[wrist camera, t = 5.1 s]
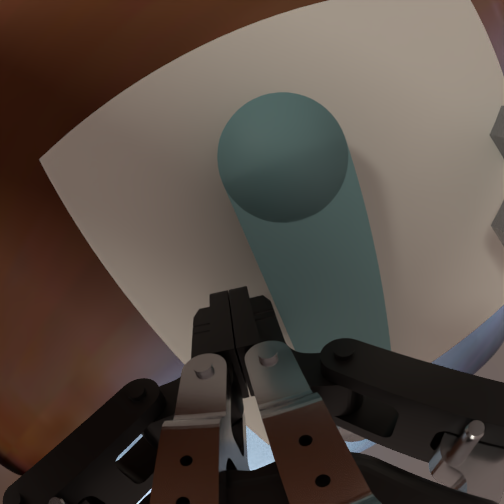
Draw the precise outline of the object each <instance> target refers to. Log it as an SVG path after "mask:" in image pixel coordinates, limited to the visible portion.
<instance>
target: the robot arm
mask: <svg viewBox="0 0 504 504" xmlns="http://www.w3.org/2000/svg"><path fill="white" fill-rule="evenodd" d="M209 303H210V307H206V308H201V309H199V310H198V311H197V313H196V314H195V316H194V317H193V331H192V334H193V335H192V348H191V359H190V360H189V361H188V362H187V363H186V364H185V365H184V367H183V369H182V373H181V377H180V378H178V379H176V380H174V381H172V382H170V383H167V384H165V385H162V386H158V385H157V383H156V382H155V381H153V380H151V379H145V378H143V379H137V380H134V381H131V382H130V383H128V384H127V385H125V386H124V387H123V388H122V389H121V390H120V391H118V392H117V393H116V394H115V395H114V396H113V397H112V398H111V399H109V400H108V401H107V402H106V403H105V404H104V405H103V406H102V407H100V408H99V409H98V410H97V411H96V412H95V413H94V414H93V415H91V416H90V417H89V418H88V419H87V420H86V421H85V422H83V423H82V424H81V425H80V426H79V427H78V428H77V429H76V430H74V431H73V432H72V433H71V434H70V435H69V436H68V437H66V438H65V439H64V440H63V441H62V442H61V443H59V444H58V445H57V446H56V447H55V448H54V449H53V450H51V451H50V452H49V453H48V454H47V455H46V456H45V457H43V458H42V459H41V460H40V461H39V462H38V463H36V464H35V465H34V466H33V467H32V468H31V469H29V470H28V471H27V472H26V473H25V474H24V475H22V476H21V477H20V478H19V479H18V480H17V481H15V482H14V483H13V484H12V485H11V486H9V487H8V489H7V490H6V492H5V493H4V496H3V504H136V503H137V502H138V501H139V500H140V499H141V498H142V497H143V496H144V495H145V494H146V493H147V492H148V491H149V490H150V489H151V488H152V490H151V493H150V494H148V495H147V496H146V497H145V498H144V499H143V500H142V501H141V502H140V503H139V504H499V503H500V500H501V498H502V495H503V492H504V383H502V382H498V381H494V380H490V379H486V378H483V377H479V376H475V375H471V374H468V373H464V372H460V371H457V370H453V369H450V368H446V367H443V366H439V365H436V364H432V363H429V362H425V361H422V360H419V359H415V358H412V357H409V356H406V355H402V354H399V353H396V352H393V351H390V350H386V349H383V348H380V347H377V346H374V345H371V344H368V343H365V342H362V341H359V340H356V339H352V338H340V339H336V340H333V341H331V342H329V343H327V344H326V345H325V346H324V347H323V348H322V350H321V353H301V352H297V351H295V350H293V349H291V348H290V347H289V346H288V345H287V344H286V342H285V340H284V337H283V334H282V331H281V328H280V326H279V323H278V320H277V317H276V314H275V312H274V309H273V306H272V303H271V301H270V300H269V299H268V298H266V297H265V296H264V295H261V296H256V297H252V298H250V297H249V293H248V289H247V286H244V287H239V288H235V289H230V290H229V292H228V290H226V291H221V292H216V293H212V294H210V295H209ZM248 389H249V391H248ZM249 392H250V395H251V397H252V396H255V398H256V401H257V405H258V408H259V411H260V414H261V418H262V421H263V424H264V427H265V431H266V434H267V437H268V440H269V443H270V446H271V450H272V453H273V456H274V459H275V462H273V463H271V464H268V465H266V466H264V467H261V468H259V469H256V470H252V471H250V469H249V466H248V459H247V441H246V422H245V414H244V405H243V398H248V397H249ZM336 425H337V426H339V427H341V428H343V429H345V430H347V431H350V432H352V433H354V434H356V435H359V436H361V437H363V438H365V439H368V440H370V441H372V442H375V443H377V444H380V445H382V446H385V447H387V448H390V449H392V450H395V451H397V452H400V453H403V454H406V455H408V456H411V457H414V458H416V459H419V460H422V461H425V462H428V463H429V470H430V473H431V475H432V477H433V478H434V479H435V480H437V481H439V482H441V483H443V484H444V485H445V486H444V485H441V484H438V483H435V482H433V481H430V480H427V479H425V478H422V477H420V476H417V475H415V474H412V473H410V472H407V471H405V470H403V469H400V468H398V467H396V466H393V465H391V464H389V463H387V462H384V461H382V460H380V459H377V458H375V457H372V456H369V455H365V454H361V453H354V452H350V451H349V449H348V447H347V445H346V443H345V441H344V440H343V438H342V436H341V434H340V432H339V430H338V428H337V426H336ZM140 434H142V435H143V437H142V438H141V439H140V440H139V441H138V442H137V443H136V444H135V445H134V446H133V447H132V448H131V449H130V450H129V451H128V452H127V453H126V454H125V455H123V456H122V457H121V458H120V459H119V460H118V461H116V459H117V457H118V456H119V455H120V454H121V453H122V452H123V451H124V450H125V449H126V448H127V447H128V446H129V445H130V444H131V443H132V442H133V441H134V440H135V439H136V438H137V437H138V436H139V435H140ZM115 461H116V462H115Z"/></svg>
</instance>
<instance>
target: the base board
mask: <svg viewBox="0 0 504 504" xmlns="http://www.w3.org/2000/svg"><path fill="white" fill-rule="evenodd" d="M277 92H289V93H296V94H300V95H303V96H306V97H308V98H311V99H313V100H315V101H316V102H318V103H320V104H321V105H322V106H323V107H325V108H326V109H327V110H328V111H329V112H330V113H331V114H332V115H333V116H334V118H335V119H336V120H337V122H338V123H339V125H340V127H341V129H342V131H343V133H344V136H345V138H346V142H347V145H348V148H349V151H350V154H351V157H352V161H353V164H354V167H355V171H356V174H357V177H358V181H359V185H360V188H361V192H362V196H363V199H364V203H365V207H366V211H367V215H368V219H369V224H370V228H371V232H372V237H373V241H374V246H375V251H376V255H377V260H378V266H379V271H380V276H381V282H382V288H383V294H384V300H385V307H386V313H387V321H388V328H389V336H390V345H391V351H393V352H396V353H399V354H402V355H406V356H409V357H412V358H415V359H419V360H422V361H425V362H429V363H431V362H433V361H434V360H436V359H437V358H438V357H440V356H441V355H443V354H444V353H445V352H447V351H448V350H450V349H451V348H452V347H454V346H455V345H456V344H458V343H459V342H460V341H461V340H463V339H464V338H465V337H467V336H468V335H469V334H470V333H472V332H473V331H474V330H475V329H476V328H478V327H479V326H480V325H481V324H482V323H484V322H485V321H486V320H487V319H488V318H489V317H491V316H492V315H493V314H494V313H495V312H496V311H497V310H498V309H499V308H501V307H502V306H503V305H504V246H503V245H502V243H501V241H500V240H499V238H498V236H497V235H496V233H495V232H494V230H493V228H492V227H491V224H492V222H493V220H494V218H495V216H496V214H497V212H498V210H499V208H500V206H501V204H502V202H503V200H504V159H503V157H502V155H501V153H500V152H499V150H498V148H497V147H496V145H495V143H494V142H493V140H492V139H491V137H490V133H491V130H492V128H493V126H494V123H495V121H496V118H497V116H498V113H499V111H500V108H501V106H504V76H503V73H502V70H501V68H500V65H499V62H498V59H497V57H496V54H495V52H494V49H493V47H492V44H491V42H490V39H489V37H488V35H487V33H486V30H485V28H484V26H483V24H482V22H481V20H480V18H479V16H478V14H477V12H476V10H475V8H474V6H473V4H472V2H471V0H329V1H325V2H321V3H317V4H313V5H309V6H305V7H302V8H298V9H295V10H291V11H288V12H285V13H282V14H279V15H276V16H273V17H270V18H267V19H264V20H261V21H259V22H256V23H253V24H251V25H248V26H246V27H243V28H241V29H238V30H236V31H233V32H231V33H229V34H226V35H224V36H222V37H219V38H217V39H215V40H213V41H211V42H209V43H206V44H204V45H202V46H200V47H198V48H196V49H194V50H192V51H190V52H188V53H186V54H185V55H183V56H181V57H179V58H177V59H175V60H173V61H172V62H170V63H168V64H166V65H164V66H163V67H161V68H159V69H158V70H156V71H154V72H153V73H151V74H149V75H148V76H146V77H144V78H143V79H141V80H140V81H138V82H136V83H135V84H133V85H132V86H130V87H129V88H127V89H126V90H124V91H123V92H121V93H120V94H118V95H117V96H116V97H114V98H113V99H111V100H110V101H108V102H107V103H106V104H104V105H103V106H102V107H100V108H99V109H98V110H96V111H95V112H94V113H92V114H91V115H90V116H88V117H87V118H86V119H85V120H83V121H82V122H81V123H80V124H78V125H77V126H76V127H75V128H74V129H72V130H71V131H70V132H69V133H68V134H67V135H65V136H64V137H63V138H62V139H61V140H60V141H58V142H57V143H56V144H55V145H54V146H53V147H52V148H51V149H50V150H49V151H47V152H46V153H45V154H44V155H43V156H42V157H41V158H40V159H39V160H40V162H41V164H42V166H43V168H44V170H45V172H46V174H47V176H48V177H49V179H50V181H51V183H52V185H53V186H54V188H55V190H56V192H57V193H58V195H59V197H60V199H61V200H62V202H63V204H64V205H65V207H66V209H67V210H68V212H69V214H70V215H71V217H72V218H73V220H74V222H75V223H76V225H77V226H78V228H79V229H80V231H81V233H82V234H83V236H84V237H85V239H86V240H87V242H88V243H89V245H90V246H91V248H92V249H93V251H94V252H95V253H96V255H97V256H98V258H99V259H100V261H101V262H102V264H103V265H104V266H105V268H106V269H107V271H108V272H109V273H110V275H111V276H112V277H113V279H114V280H115V281H116V283H117V284H118V285H119V287H120V288H121V289H122V291H123V292H124V293H125V295H126V296H127V297H128V299H129V300H130V301H131V302H132V304H133V305H134V306H135V307H136V309H137V310H138V311H139V312H140V314H141V315H142V316H143V317H144V319H145V320H146V321H147V322H148V323H149V325H150V326H151V327H152V328H153V329H154V331H155V332H156V333H157V334H158V335H159V337H160V338H161V339H162V340H163V341H164V342H165V343H166V345H167V346H168V347H169V348H170V349H171V350H172V351H173V352H174V354H175V355H176V356H177V357H178V358H179V359H180V360H181V361H182V362H183V363H184V365H185V364H186V363H187V362H188V361H189V360H190V359H191V348H192V335H193V334H192V331H193V317H194V316H195V314H196V313H197V311H198V310H199V309H201V308H206V307H210V303H209V295H210V294H212V293H216V292H221V291H226V290H228V292H229V290H230V289H235V288H239V287H244V286H247V289H248V293H249V297H250V298H252V297H256V296H261V295H264V296H265V297H266V298H268V299H269V300H270V301H271V303H272V306H273V309H274V312H275V314H276V317H277V320H278V323H279V326H280V328H281V331H282V334H283V337H284V340H285V342H286V344H287V345H288V346H289V347H290V348H291V349H293V350H295V349H294V347H293V344H292V342H291V340H290V337H289V335H288V333H287V331H286V328H285V326H284V324H283V321H282V319H281V317H280V314H279V312H278V310H277V307H276V305H275V303H274V301H273V298H272V296H271V294H270V291H269V289H268V287H267V284H266V282H265V280H264V278H263V275H262V273H261V271H260V268H259V266H258V264H257V261H256V259H255V257H254V254H253V252H252V250H251V248H250V245H249V243H248V241H247V238H246V236H245V234H244V231H243V229H242V227H241V225H240V222H239V220H238V218H237V215H236V213H235V211H234V208H233V206H232V204H231V201H230V199H229V197H228V195H227V192H226V190H225V188H224V185H223V183H222V180H221V177H220V174H219V169H218V161H217V152H218V143H219V139H220V136H221V133H222V131H223V129H224V127H225V125H226V124H227V122H228V121H229V120H230V118H231V117H232V116H233V114H234V113H235V112H236V111H237V110H238V109H239V108H241V107H242V106H243V105H244V104H246V103H247V102H249V101H251V100H252V99H255V98H257V97H259V96H262V95H266V94H269V93H277ZM248 391H249V389H248ZM243 405H244V414H245V422H246V426H247V427H249V428H250V429H251V430H252V431H253V432H254V433H255V434H257V435H258V436H259V437H260V438H261V439H262V440H264V441H265V442H266V443H267V444H268V445H269V444H270V443H269V440H268V437H267V434H266V431H265V427H264V424H263V421H262V418H261V414H260V411H259V408H258V405H257V401H256V398H255V396H252V397H251V395H250V392H249V397H248V398H243Z"/></svg>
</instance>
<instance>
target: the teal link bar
mask: <svg viewBox="0 0 504 504" xmlns="http://www.w3.org/2000/svg"><path fill="white" fill-rule="evenodd" d="M217 161H218V169H219V174H220V177H221V180H222V183H223V185H224V188H225V190H226V192H227V195H228V197H229V199H230V201H231V204H232V206H233V208H234V211H235V213H236V215H237V218H238V220H239V222H240V225H241V227H242V229H243V231H244V234H245V236H246V238H247V241H248V243H249V245H250V248H251V250H252V252H253V254H254V257H255V259H256V261H257V264H258V266H259V268H260V271H261V273H262V275H263V278H264V280H265V282H266V284H267V287H268V289H269V291H270V294H271V296H272V298H273V301H274V303H275V305H276V307H277V310H278V312H279V314H280V317H281V319H282V321H283V324H284V326H285V328H286V331H287V333H288V335H289V337H290V340H291V342H292V344H293V347H294V349H295V351H297V352H301V353H321V350H322V348H323V347H324V346H325V345H326V344H327V343H329V342H331V341H333V340H336V339H340V338H352V339H356V340H359V341H362V342H365V343H368V344H371V345H374V346H377V347H380V348H383V349H386V350H390V351H391V345H390V336H389V328H388V321H387V313H386V307H385V300H384V294H383V288H382V282H381V276H380V271H379V266H378V260H377V255H376V251H375V246H374V241H373V237H372V232H371V228H370V224H369V219H368V215H367V211H366V207H365V203H364V199H363V196H362V192H361V188H360V185H359V181H358V177H357V174H356V171H355V167H354V164H353V161H352V157H351V154H350V151H349V148H348V145H347V142H346V138H345V136H344V133H343V131H342V129H341V127H340V125H339V123H338V122H337V120H336V119H335V118H334V116H333V115H332V114H331V113H330V112H329V111H328V110H327V109H326V108H325V107H323V106H322V105H321V104H320V103H318V102H316V101H315V100H313V99H311V98H308V97H306V96H303V95H300V94H296V93H289V92H277V93H269V94H266V95H262V96H259V97H257V98H255V99H252V100H251V101H249V102H247V103H246V104H244V105H243V106H242V107H241V108H239V109H238V110H237V111H236V112H235V113H234V114H233V116H232V117H231V118H230V120H229V121H228V122H227V124H226V125H225V127H224V129H223V131H222V133H221V136H220V139H219V143H218V152H217Z"/></svg>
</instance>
